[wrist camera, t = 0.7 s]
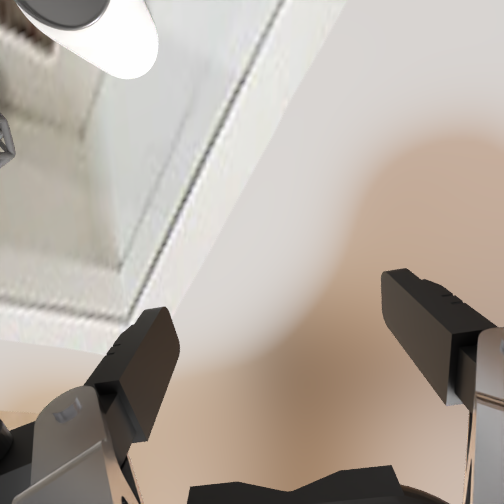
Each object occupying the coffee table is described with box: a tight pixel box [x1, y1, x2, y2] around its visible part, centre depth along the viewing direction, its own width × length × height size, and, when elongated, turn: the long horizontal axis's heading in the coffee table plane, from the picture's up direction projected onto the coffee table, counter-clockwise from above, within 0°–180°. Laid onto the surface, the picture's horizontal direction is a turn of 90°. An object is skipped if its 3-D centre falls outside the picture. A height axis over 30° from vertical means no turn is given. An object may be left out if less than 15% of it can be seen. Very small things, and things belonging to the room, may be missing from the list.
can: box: [14, 0, 158, 79], centre depth 19 cm, size 6×6×12 cm
